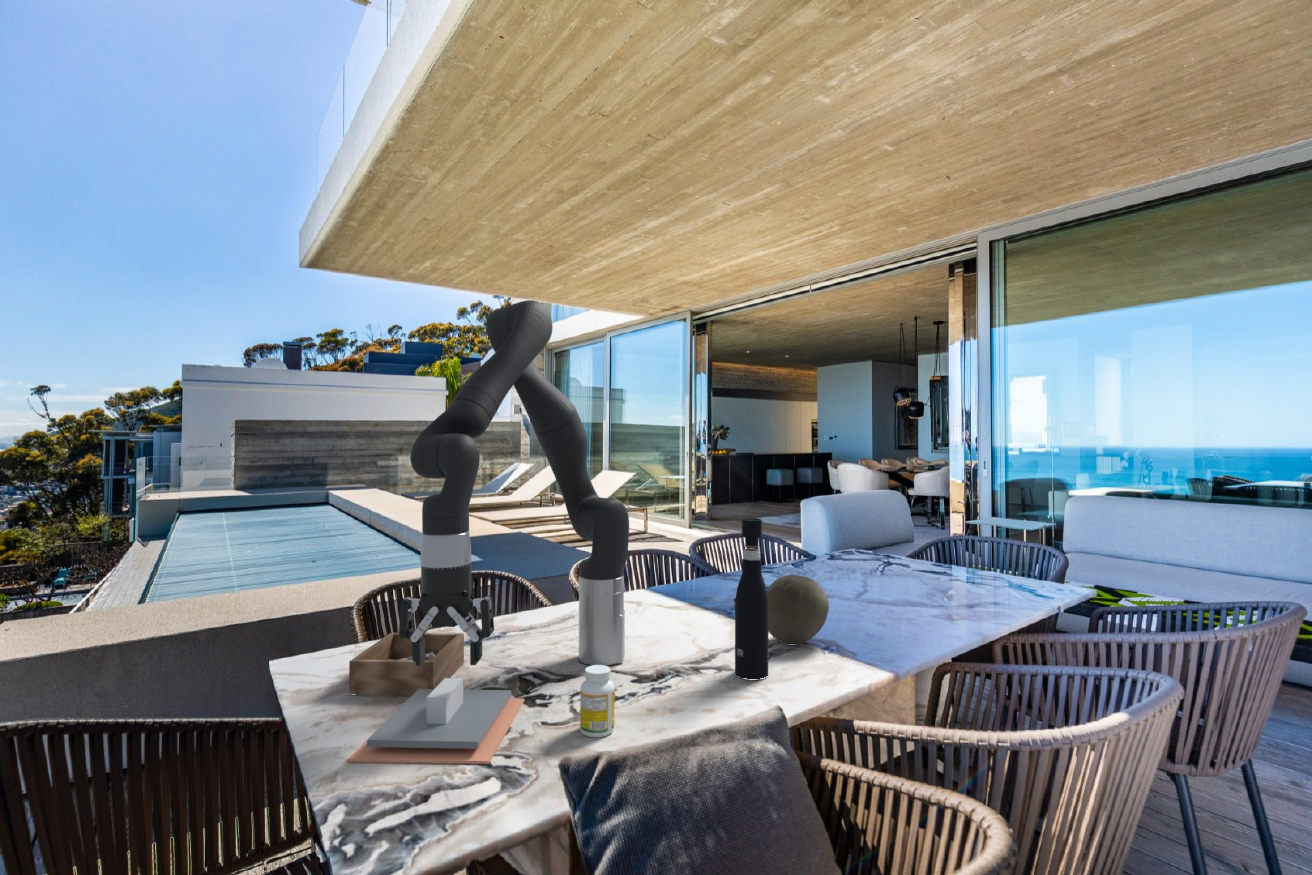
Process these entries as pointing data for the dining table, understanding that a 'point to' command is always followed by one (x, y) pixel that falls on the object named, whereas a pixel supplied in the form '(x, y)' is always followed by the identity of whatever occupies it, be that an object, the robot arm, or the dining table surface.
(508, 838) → the dining table surface
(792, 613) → the cantaloupe
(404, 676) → the box
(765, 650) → the black water bottle
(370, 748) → the mat
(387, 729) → the lid
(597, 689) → the supplement bottle
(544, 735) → the dining table surface
